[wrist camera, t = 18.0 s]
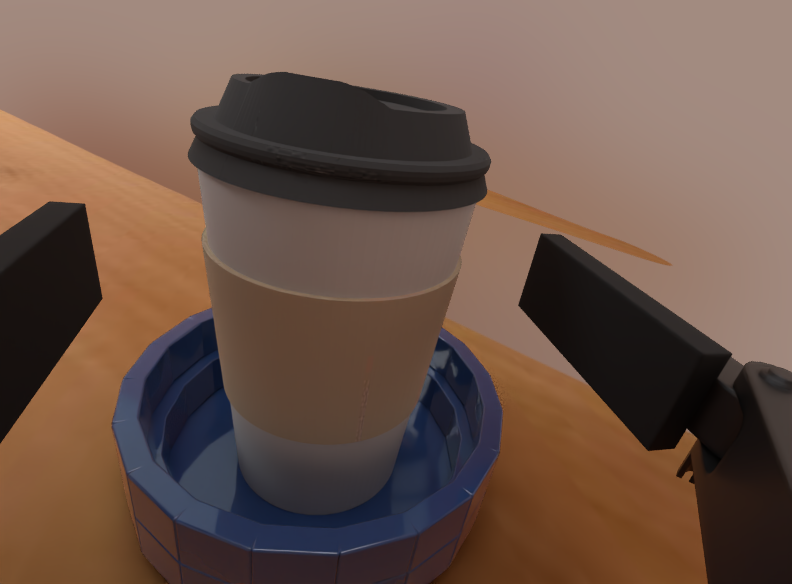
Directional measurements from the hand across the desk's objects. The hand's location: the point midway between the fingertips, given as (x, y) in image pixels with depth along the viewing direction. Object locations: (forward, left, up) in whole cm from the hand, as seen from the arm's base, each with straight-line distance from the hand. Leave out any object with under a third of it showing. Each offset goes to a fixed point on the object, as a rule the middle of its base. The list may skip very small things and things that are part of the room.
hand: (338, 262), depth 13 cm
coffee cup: (0, +2, -10) cm, 10 cm away
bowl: (0, +2, -11) cm, 11 cm away
